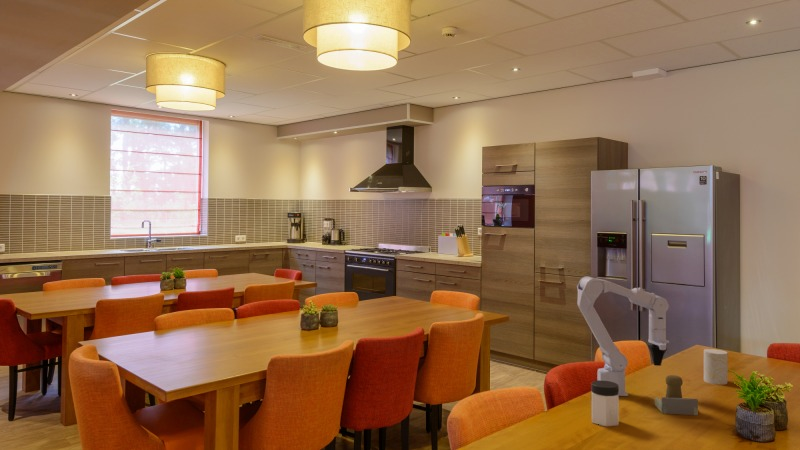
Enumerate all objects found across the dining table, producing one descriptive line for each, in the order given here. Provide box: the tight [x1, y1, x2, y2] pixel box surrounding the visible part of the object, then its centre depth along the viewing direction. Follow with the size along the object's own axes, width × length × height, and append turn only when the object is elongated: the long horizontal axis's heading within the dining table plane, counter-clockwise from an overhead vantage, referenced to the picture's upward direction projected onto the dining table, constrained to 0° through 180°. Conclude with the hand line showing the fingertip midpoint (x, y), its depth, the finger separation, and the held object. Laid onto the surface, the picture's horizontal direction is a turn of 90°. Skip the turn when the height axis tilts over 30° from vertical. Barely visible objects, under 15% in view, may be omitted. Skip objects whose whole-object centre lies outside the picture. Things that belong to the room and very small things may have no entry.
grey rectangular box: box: [654, 396, 699, 416], centre depth 184 cm, size 11×8×5 cm
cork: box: [665, 374, 683, 398], centre depth 186 cm, size 6×6×11 cm
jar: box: [590, 380, 620, 427], centre depth 173 cm, size 9×8×12 cm
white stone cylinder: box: [703, 348, 728, 386], centre depth 217 cm, size 8×8×12 cm
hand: (657, 365), depth 202 cm, fingers closed
